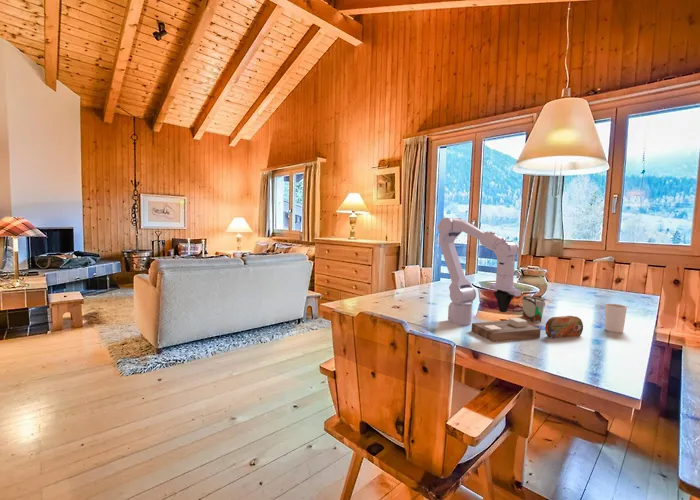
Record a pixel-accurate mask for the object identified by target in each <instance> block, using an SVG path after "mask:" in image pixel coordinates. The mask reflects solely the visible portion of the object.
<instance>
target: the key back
mask: <svg viewBox="0 0 700 500" xmlns="http://www.w3.org/2000/svg"><path fill="white" fill-rule="evenodd" d="M508 320H509V324H510V325H512V326H515V327H517V328H518V327H527V324H528V320H526V319H524V318H520V317H510V318H508Z"/></svg>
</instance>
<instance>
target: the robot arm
mask: <svg viewBox="0 0 700 500" xmlns="http://www.w3.org/2000/svg"><path fill="white" fill-rule="evenodd" d="M437 230H438V233H439V234H438V241H439V245H440V249H441V252H442V255H443V258H444V261H445V265H446V267H447V272H448V274H449V278H450V281H451V283H450V285H449V286H448V289H449V298H450V300H451V302H449V304H448V308H447V309H448V310H447V320H445V321H446V322H449V321H450V322H451V323H452V324H454V325H457V326H472V311H473V301H474V300H476V297H477V292H476V289H475V288H474V287H473V285H472V283H471V281H469V280H468V279H467V278H466V276H465V273H464V269H463V268H462V264H461V261H460V258H459V255H458V251H457V249H456V245H455V243H454V242H455V241H456V239H457V237H459V236H460V234H461V233H465V234H467V235H469V236H471V237H473V238H475V239H476V240H479V244H480V245H481V246H483V247H484V248H487V249H488V250H490V251H491V252H493V253H494V254H495V256H496V275H495V276H496V277H495V279H496V280H495V283H493V282H492V283H490V282H489V283H488V289H490V290H495V291H494V292H493V295H494V297H495V299H496V303H497V305H498V306H497V307H498V311H499V312H500V313H507V312H508V308H509V305H510V304H511V301H512V300H513V298H514V297H522V290H519V289H517V288H516V286H514V276H515V262H516V261H515V259H516V257H515V256H517V254H518V253H519V246H518V244H517V243H516V242H515V241H512V240H508V241H507V238H505V237H501V236H499V235H497V234H496V232H495V231H492V230H491V231H489V230H488V231H483V230H481V229H480V228H478V227H476V226H474V225H473V224H472V223H469V222H468V221H467V220H466V219H462V218H461V217H442V218H441V219H440V221H439V222H438V225H437Z"/></svg>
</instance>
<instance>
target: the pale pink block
mask: <svg viewBox="0 0 700 500" xmlns="http://www.w3.org/2000/svg"><path fill="white" fill-rule="evenodd" d="M484 327H487V328H489V329H491V330H495V329H502V328H500V327H497V326H495V325H486V326H484Z"/></svg>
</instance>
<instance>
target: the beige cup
mask: <svg viewBox="0 0 700 500" xmlns="http://www.w3.org/2000/svg"><path fill="white" fill-rule="evenodd" d="M627 308H628V307H627V306H626V305H623V304H617V303H605V311H604V313H605V315H604V316H605V317H604V318H605V319H604V330H606V331H607V332H610V333H611V332H612V333H619V334H620V333H621V334H622V333H624V330H625V323H626V322H625V321H626V315H627V314H626V313H627Z"/></svg>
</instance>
